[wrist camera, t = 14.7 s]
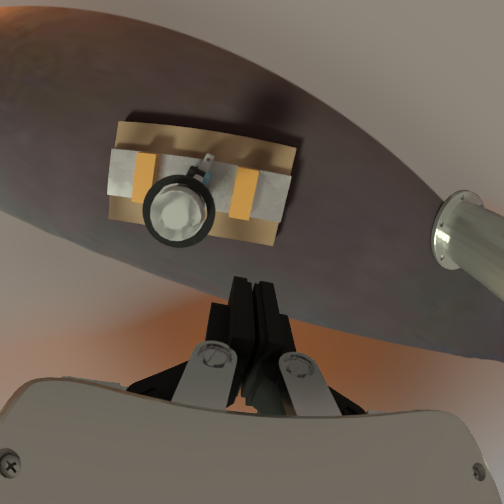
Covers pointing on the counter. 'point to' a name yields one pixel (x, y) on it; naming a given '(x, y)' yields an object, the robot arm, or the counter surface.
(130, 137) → the din panel
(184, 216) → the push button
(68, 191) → the counter surface
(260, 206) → the din rail
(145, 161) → the end stops
